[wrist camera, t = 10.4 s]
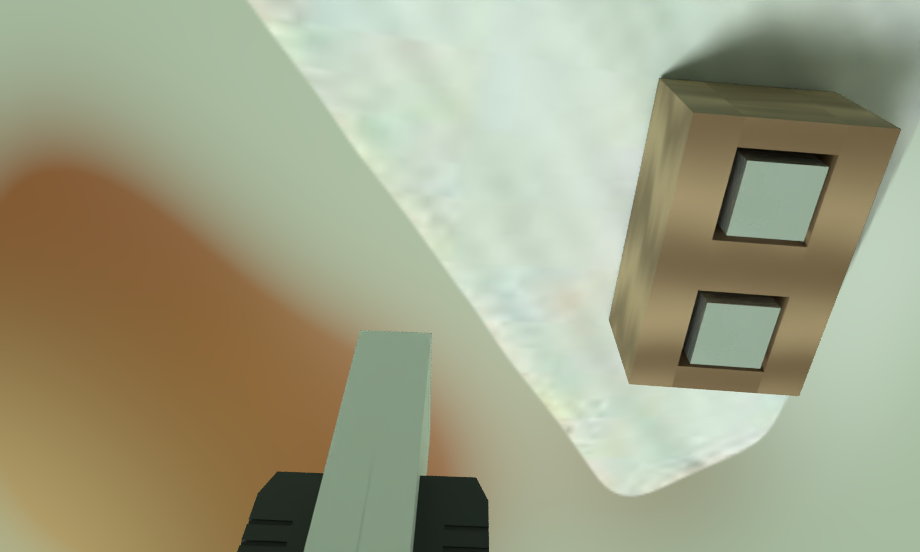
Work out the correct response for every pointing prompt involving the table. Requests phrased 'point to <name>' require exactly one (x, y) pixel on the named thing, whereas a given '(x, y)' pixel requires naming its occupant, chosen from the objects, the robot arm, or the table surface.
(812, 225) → the wooden peg hole block
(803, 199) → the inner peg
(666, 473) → the table surface
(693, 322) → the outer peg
